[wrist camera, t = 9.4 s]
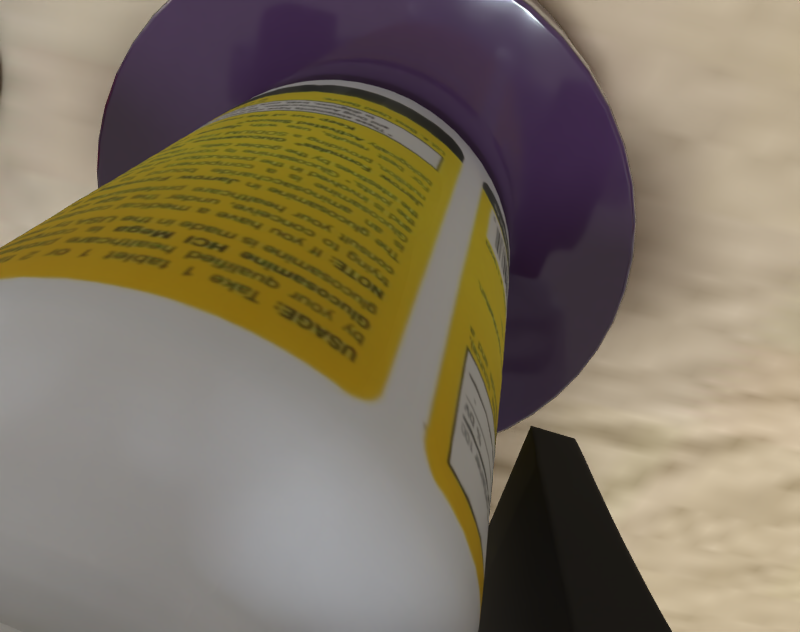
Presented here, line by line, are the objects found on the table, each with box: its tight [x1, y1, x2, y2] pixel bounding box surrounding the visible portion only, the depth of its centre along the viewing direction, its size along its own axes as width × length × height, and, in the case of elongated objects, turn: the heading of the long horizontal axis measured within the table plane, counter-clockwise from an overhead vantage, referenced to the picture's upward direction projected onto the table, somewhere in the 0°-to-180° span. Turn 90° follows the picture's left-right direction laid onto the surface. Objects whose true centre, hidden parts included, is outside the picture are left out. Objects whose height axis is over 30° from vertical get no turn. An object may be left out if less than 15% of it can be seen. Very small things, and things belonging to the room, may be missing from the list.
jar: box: [97, 0, 636, 433], centre depth 15 cm, size 10×10×5 cm
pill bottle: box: [0, 80, 510, 632], centre depth 8 cm, size 6×6×11 cm
